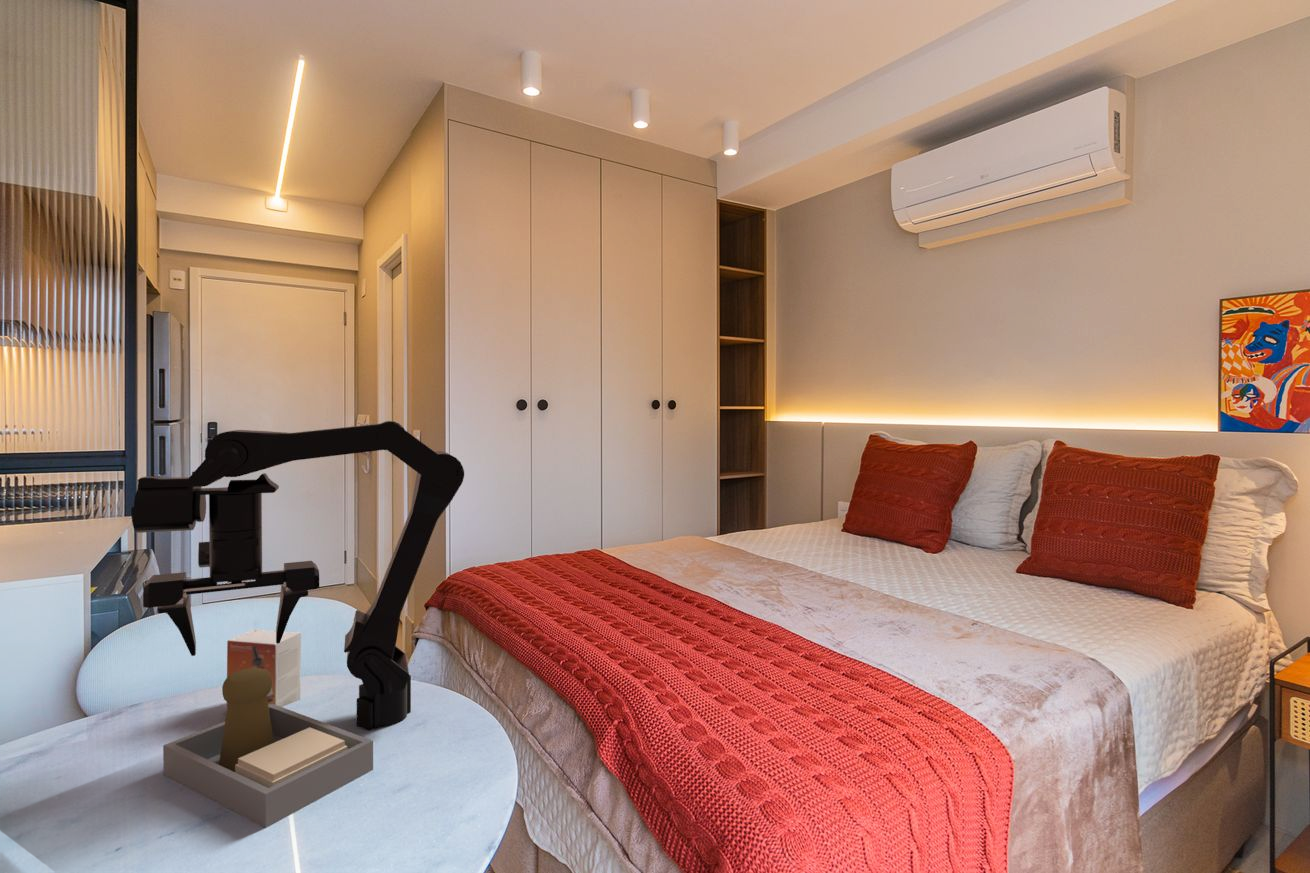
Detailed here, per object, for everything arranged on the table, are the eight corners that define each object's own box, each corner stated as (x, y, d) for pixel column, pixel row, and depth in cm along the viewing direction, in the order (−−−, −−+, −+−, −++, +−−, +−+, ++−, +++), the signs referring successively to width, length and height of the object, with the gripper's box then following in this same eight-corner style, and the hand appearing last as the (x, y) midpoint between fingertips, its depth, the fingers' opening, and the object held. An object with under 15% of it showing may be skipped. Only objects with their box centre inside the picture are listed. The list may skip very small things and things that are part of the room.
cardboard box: (310, 757, 83) (310, 726, 83) (347, 772, 80) (347, 740, 79) (235, 793, 75) (235, 758, 75) (273, 811, 72) (272, 775, 72)
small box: (225, 712, 97) (225, 640, 97) (254, 696, 103) (254, 628, 102) (275, 717, 96) (275, 644, 95) (301, 700, 101) (301, 631, 101)
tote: (272, 736, 90) (272, 703, 90) (373, 777, 80) (373, 740, 80) (163, 782, 79) (163, 745, 78) (265, 837, 69) (265, 794, 69)
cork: (250, 776, 78) (249, 684, 78) (205, 770, 80) (205, 679, 79) (287, 751, 84) (287, 664, 84) (245, 745, 85) (245, 660, 85)
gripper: (312, 514, 98) (312, 620, 98) (152, 524, 88) (154, 641, 88) (319, 526, 88) (319, 643, 89) (141, 538, 78) (143, 670, 79)
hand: (236, 648), depth 86 cm, fingers open, 9 cm apart
